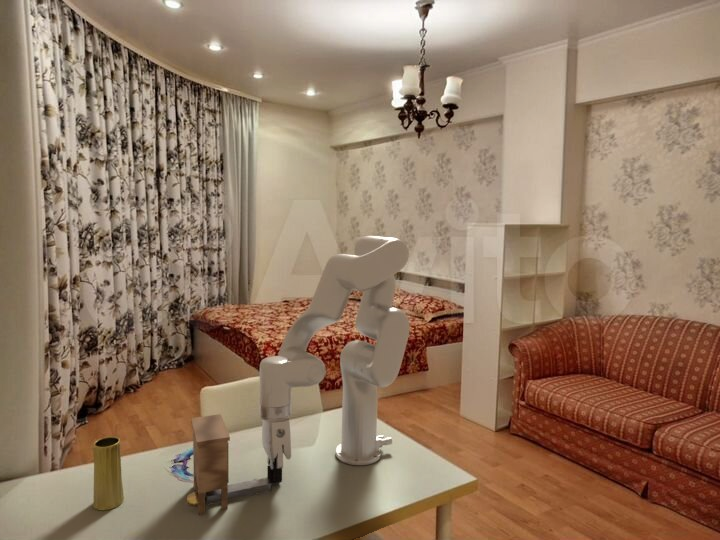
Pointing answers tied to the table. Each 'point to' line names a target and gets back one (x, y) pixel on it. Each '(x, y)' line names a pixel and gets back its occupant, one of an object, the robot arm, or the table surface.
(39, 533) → the table surface
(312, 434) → the table surface
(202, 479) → the cabinet
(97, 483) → the vase
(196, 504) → the token
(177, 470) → the decorative blades
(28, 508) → the table surface
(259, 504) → the table surface
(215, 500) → the bar
